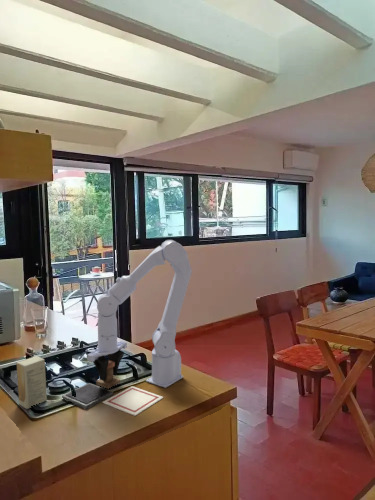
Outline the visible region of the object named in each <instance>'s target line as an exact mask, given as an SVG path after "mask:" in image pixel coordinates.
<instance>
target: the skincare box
mask: <svg viewBox="0 0 375 500" xmlns="http://www.w3.org/2000/svg"><path fill="white" fill-rule="evenodd" d="M16 373H17V374H16V376H17V391H18V404H19V405H20V406H21V407H22V408H24V409H25V410H28V409H30V408H32V407H31V406H33V405H35V406H37V405H39V403H40V404H42V403H44V402H47V400H48V398H47V397H48V395H47V381H46V379H47V378H46V377H47V376H46V362H45V359H44V358H42V357H40V356H39V355H35V356H32V357H29V358H26V359H22V360H20V361H17V362H16ZM36 404H37V405H36ZM33 407H34V406H33Z"/></svg>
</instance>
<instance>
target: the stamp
mask: <svg viewBox="0 0 375 500" xmlns="http://www.w3.org/2000/svg"><path fill="white" fill-rule="evenodd" d="M108 360H109V359H108ZM114 366H115V362H114V361H112V360H109V363H108V366H107V378H106V380H105V381H103V380H100V379H97V380H96V386H99V387H100V386H101V387H102V388H103V387H105V388H108V389H107V390H110V389H112V388H113V387H112V386H114V385H116V384H118V383H119V384H121V378H118V377H114V375H113V367H114ZM119 384H118V385H119ZM116 386H117V385H116ZM111 387H112V388H111ZM114 387H115V386H114ZM105 388H104V389H105ZM109 388H110V389H109Z"/></svg>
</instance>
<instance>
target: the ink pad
mask: <svg viewBox="0 0 375 500" xmlns="http://www.w3.org/2000/svg"><path fill="white" fill-rule="evenodd" d="M74 390H76V397H74V396H72V394H71V391H69V392H67V393H65V394H63V395H62V396H61V399H62V398H63V399H66V400H69V401H71V402H72V403H74V404H73V405H75V406H77V407H80V408H81V409H84V410H87V409H90V408H91V407H94V406H96V405H97V404H99V403H101V402H104V401H105V400H107V399H109V398H111V397H113V396H114V391H112V390H110V389H105V388H103V387H100V386H98V385H97V384H94V383H90V382H88V383H86V384H84V385H82V386H80V387H78V388H76V389H74ZM63 399H62V400H63ZM72 403H71V404H72Z"/></svg>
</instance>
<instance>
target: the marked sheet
mask: <svg viewBox="0 0 375 500" xmlns="http://www.w3.org/2000/svg"><path fill="white" fill-rule="evenodd" d="M162 399H164V396H162V395H158V394H156V393H153V392H150V391H147V390H145V389H142V388H139V387H136V386H130V387H128V388H126V389H124V390H123V391H120V392H119V393H117V394H115V395H112V396H110V397H109V398H107V399H105V400H103V401H102V404H103V405H106V406H109V407H112V408H114V409H117V410H119V411H121V412H123V413H126V414H129V415H130V416H131V415H132V416H134V417H136V416H137V415H139V414H140V413H142V412H144V411H145V410H147V409H148V408H150V407H151V406H153V405H154V404H156V403H158V402H159V401H161V400H162Z"/></svg>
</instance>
